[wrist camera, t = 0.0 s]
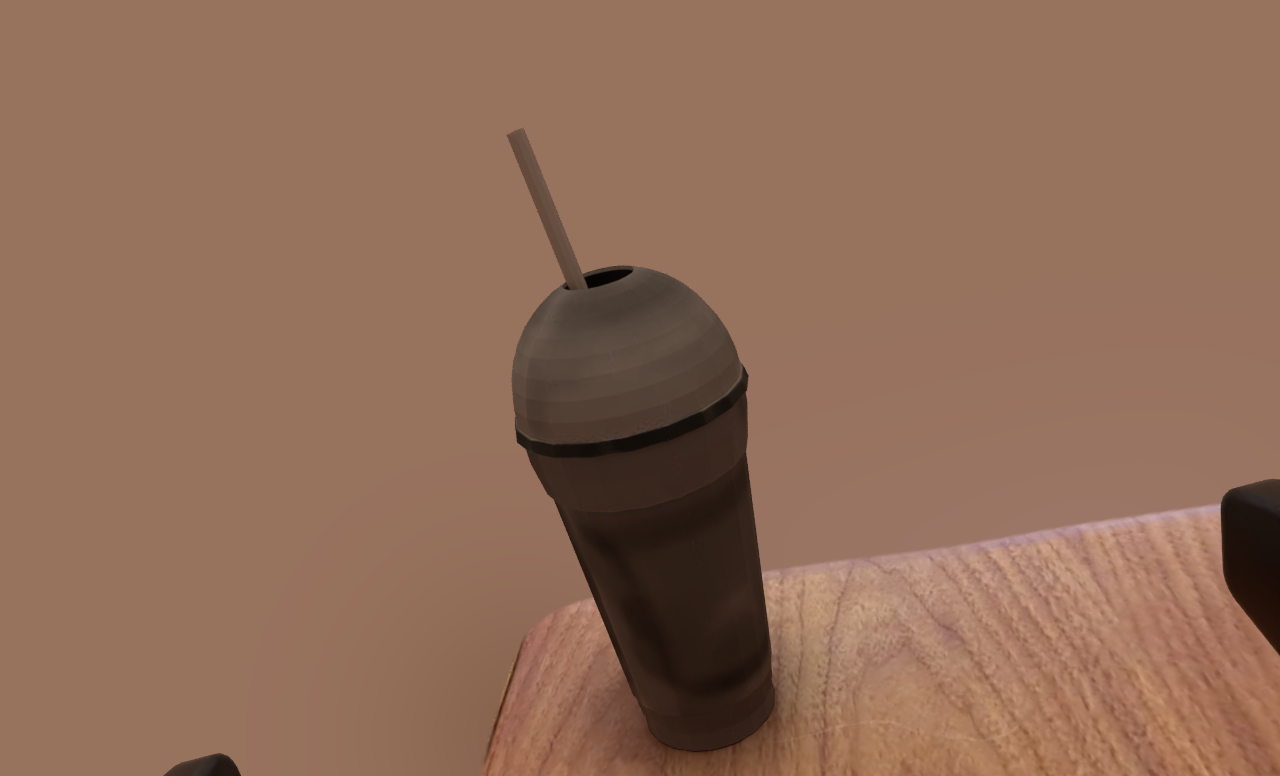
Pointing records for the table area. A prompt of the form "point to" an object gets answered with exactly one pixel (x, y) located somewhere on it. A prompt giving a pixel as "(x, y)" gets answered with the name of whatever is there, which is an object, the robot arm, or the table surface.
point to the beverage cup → (650, 482)
